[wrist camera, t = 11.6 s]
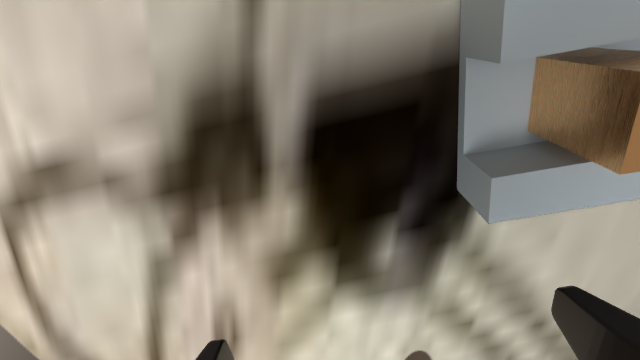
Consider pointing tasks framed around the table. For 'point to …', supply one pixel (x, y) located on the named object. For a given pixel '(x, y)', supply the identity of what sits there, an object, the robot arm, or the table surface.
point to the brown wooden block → (590, 105)
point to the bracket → (514, 106)
